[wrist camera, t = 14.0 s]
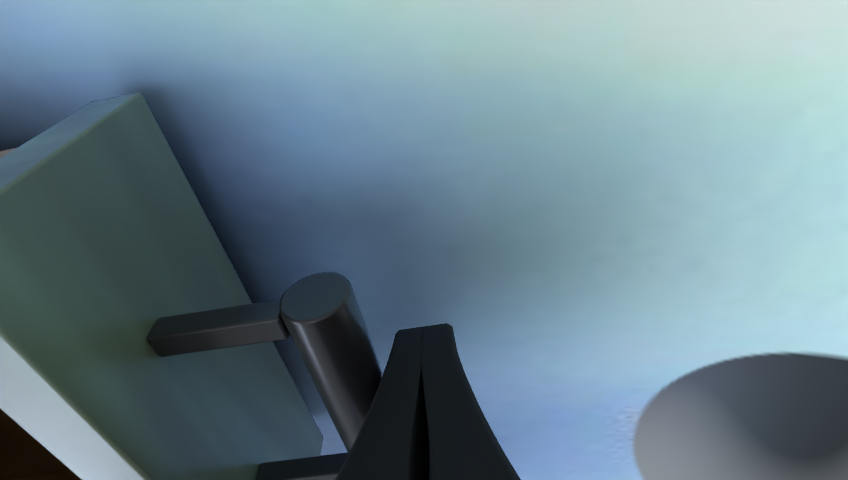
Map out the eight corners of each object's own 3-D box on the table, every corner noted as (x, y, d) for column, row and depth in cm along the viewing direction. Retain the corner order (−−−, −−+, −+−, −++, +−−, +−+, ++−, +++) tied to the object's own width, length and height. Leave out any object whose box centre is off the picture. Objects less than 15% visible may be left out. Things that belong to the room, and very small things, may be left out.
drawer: (326, 55, 10) (250, 190, 5) (432, 423, 17) (439, 612, 13) (-416, 199, 11) (-978, 402, 7) (-24, 479, 19) (-165, 666, 14)
